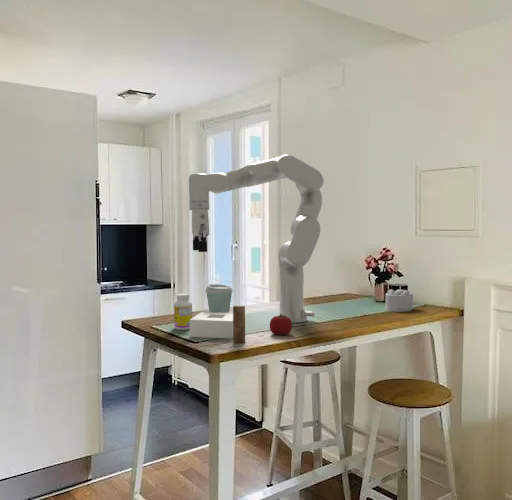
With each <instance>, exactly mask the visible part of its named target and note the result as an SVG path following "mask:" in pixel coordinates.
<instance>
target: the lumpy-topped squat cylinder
mask: <svg viewBox="0 0 512 500" xmlns="http://www.w3.org/2000/svg"><path fill="white" fill-rule="evenodd" d="M384 306H385V307H384V308H385V311H387V312H392V313H394V312H395V313H397V312H398V313H400V312H401V313H402V312H405V313H406V312H410V311H413V310H414V293H413V292H410V291H409V290H407V289H397V290H394V289H388V290H387V292H386V293H385V305H384Z"/></svg>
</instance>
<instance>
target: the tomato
mask: <svg viewBox="0 0 512 500" xmlns="http://www.w3.org/2000/svg"><path fill="white" fill-rule="evenodd" d="M292 329H293V323H292V321H291V320H290V318H288V317H286V316H284V315H282V314H280V313H279V315H275V316H273V317H271V319H270V321H269V330H270V332H271V333H272V334H274V335H277V336H287V335H288V334H290V333H291V331H292Z"/></svg>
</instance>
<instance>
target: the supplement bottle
mask: <svg viewBox="0 0 512 500" xmlns="http://www.w3.org/2000/svg"><path fill="white" fill-rule="evenodd" d="M176 299H177V300H176V301H175V302H174V303H173V309H174V310H173V313H174V315H173V319H174V320H173V321H174V324H173V325H174V329H175V330H177V331H187V330H190V319H192V318H193V302H192V301H191V300H190V294H189V293H177V294H176Z"/></svg>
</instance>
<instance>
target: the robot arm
mask: <svg viewBox="0 0 512 500" xmlns="http://www.w3.org/2000/svg"><path fill="white" fill-rule="evenodd" d="M283 179H287V180H290V181H292V182H293V183H294V184H295V188H296V189H297V190H298V192H299V194H300V202H299V205H298V209H297V211H296V214H295V216H294V218H293V221H292V223H291V225H290V233H291V235H292V239H291V241H287V242H286V241H285V242H284V243H283V244H282V245H280V247H279V250H278V256H277V258H278V266H279V315H280V314H282V315H284V316H286V317H288V318H290V320H291V321H292V324H296V323H297V324H298V323H305V322H307V321H308V317H312V318H313V317H315V311H311V310H310V311H307V310H305V309H306V308H305V307H304V280H305V279H304V278H305V277H304V266H305V265H307V264H308V263H309V261H310V259H311V257H312V255H313V253H314V250H315V248H316V246H317V243H318V241H319V238H320V235H321V225H320V222H319V220H318V218H319V216H320V212H321V209H322V206H323V196H322V192H321V189H322V187H323V185H324V176H323V175H322V173H321V172H320V171H319V170H318V169H316V168H314V167H313V166H311V165H310V164H308V163H306V162H304V161H302V160H301V159H299V158H297V157H295V156H293V155H291V154H283V155H280V156H277V157H275V158H270V159H265V160H262V161H257V162H254V163H250V164H246V165H244V166H242V167H239V168H236V169H234V170H230V171H226V172H215V173H191V174H190V175H189V177H188V194H189V195H188V198H189V199H188V205H189V206H188V208H189V211H191V235H192V250H193V251H198V253H208V236H210V219H209V211H210V192H211V193H213V194H217V195H218V194H222V193H226V192H230V191H234V190H238V189H242V188H243V189H244V188H249V187H254V186H260V185H264V184H268V183H271V182H275V181H278V180H283Z"/></svg>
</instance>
